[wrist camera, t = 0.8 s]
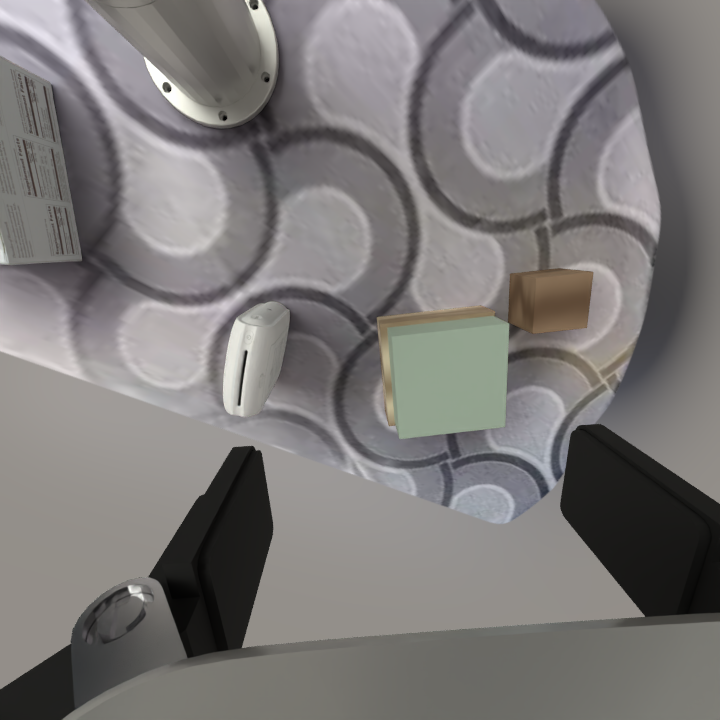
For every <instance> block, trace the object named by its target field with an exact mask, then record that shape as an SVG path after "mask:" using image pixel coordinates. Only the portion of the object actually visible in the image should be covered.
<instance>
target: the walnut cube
mask: <svg viewBox="0 0 720 720" xmlns="http://www.w3.org/2000/svg"><path fill="white" fill-rule="evenodd" d="M592 280H593V272H590V271H580V270H570V269H560V268H558V269H549V270H540V271H531V272H522V273H513V274H510V287H509V312H508V323H511V324H513V325H515V326H517V327H519V328H521V329H523V330H526V331H528V332H530V333H532V334H536V333H545V332H554V331H563V330H572V329H581V328H587V322H588V314H589V305H590V297H591V288H592Z"/></svg>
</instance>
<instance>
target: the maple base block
mask: <svg viewBox="0 0 720 720" xmlns="http://www.w3.org/2000/svg"><path fill="white" fill-rule="evenodd" d="M486 316H494V317H495V311H493V310H491V309H488V308H486V307H484V306H481V305H480V306H471V307H462V308H453V309H444V310H435V311H426V312H417V313H408V314H399V315H390V316H381V317H377V325H378V336H379V347H380V359H381V370H382V381H383V392H384V404H385V412H386V416H387V421H388V425H389V426H394V425H395V420H394V407H393V395H392V382H391V370H390V358H389V345H388V333H387V328H388V327H397V326H406V325H415V324H424V323H433V322H442V321H451V320H459V319H468V318H477V317H486Z"/></svg>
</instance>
